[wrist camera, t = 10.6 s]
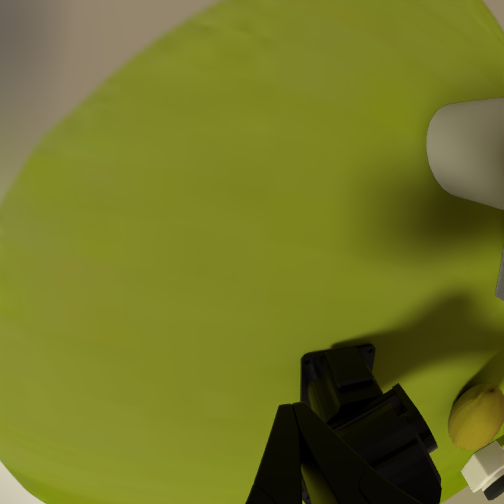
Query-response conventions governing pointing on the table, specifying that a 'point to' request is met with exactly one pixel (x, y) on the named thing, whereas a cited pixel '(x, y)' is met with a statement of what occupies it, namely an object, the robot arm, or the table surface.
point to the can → (469, 150)
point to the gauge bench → (501, 281)
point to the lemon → (476, 416)
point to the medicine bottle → (486, 470)
